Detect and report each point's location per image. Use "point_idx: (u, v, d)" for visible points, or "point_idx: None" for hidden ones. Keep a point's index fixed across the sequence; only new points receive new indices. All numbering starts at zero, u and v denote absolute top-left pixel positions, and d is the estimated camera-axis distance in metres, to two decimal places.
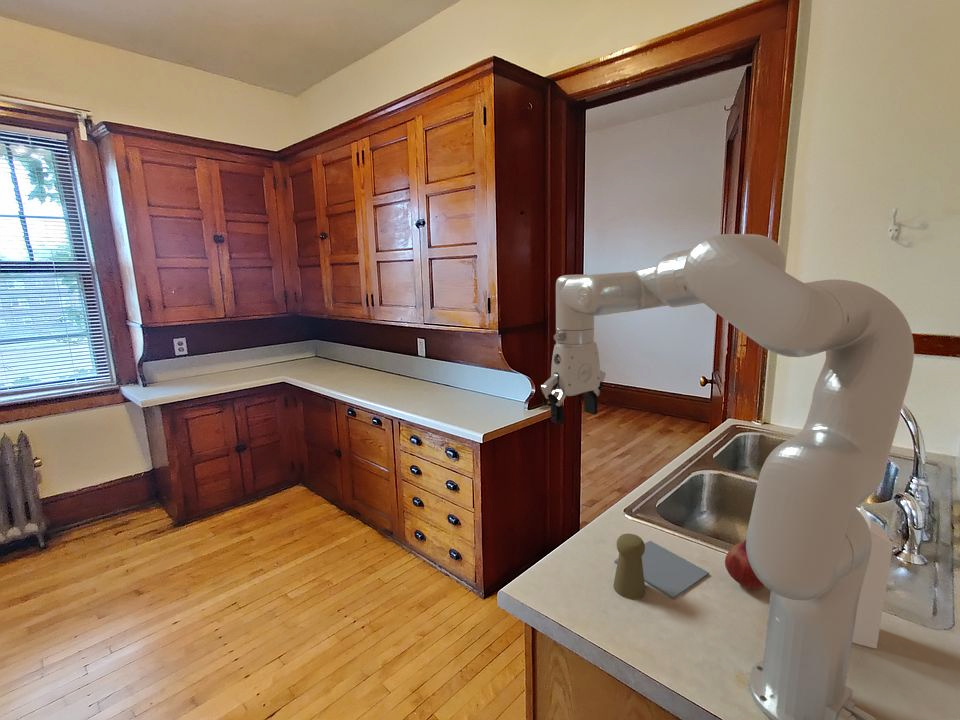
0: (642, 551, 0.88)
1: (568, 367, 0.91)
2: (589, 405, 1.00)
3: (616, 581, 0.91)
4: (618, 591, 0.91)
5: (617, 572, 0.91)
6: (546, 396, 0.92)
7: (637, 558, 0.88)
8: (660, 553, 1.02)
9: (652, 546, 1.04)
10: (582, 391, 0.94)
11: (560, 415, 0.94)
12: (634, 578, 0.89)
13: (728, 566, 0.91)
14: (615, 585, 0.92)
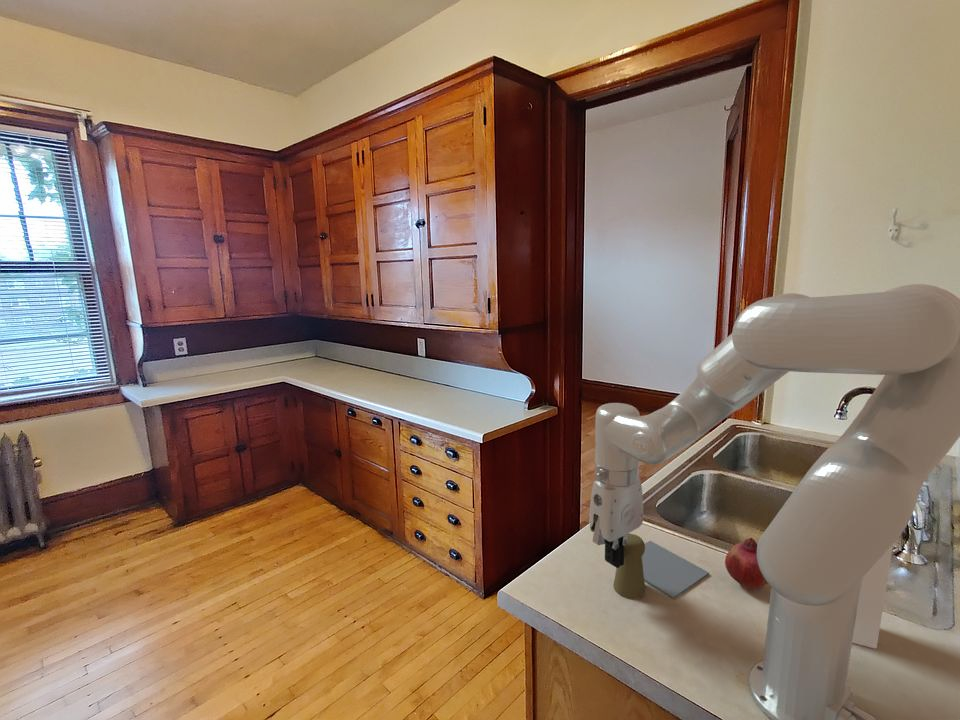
0: (642, 551, 0.88)
1: (610, 511, 0.81)
2: None
3: (616, 581, 0.91)
4: (618, 591, 0.91)
5: (617, 572, 0.91)
6: None
7: (637, 558, 0.88)
8: (660, 553, 1.02)
9: (652, 546, 1.04)
10: (625, 534, 0.84)
11: (616, 558, 0.86)
12: (634, 578, 0.89)
13: (728, 566, 0.91)
14: (615, 585, 0.92)
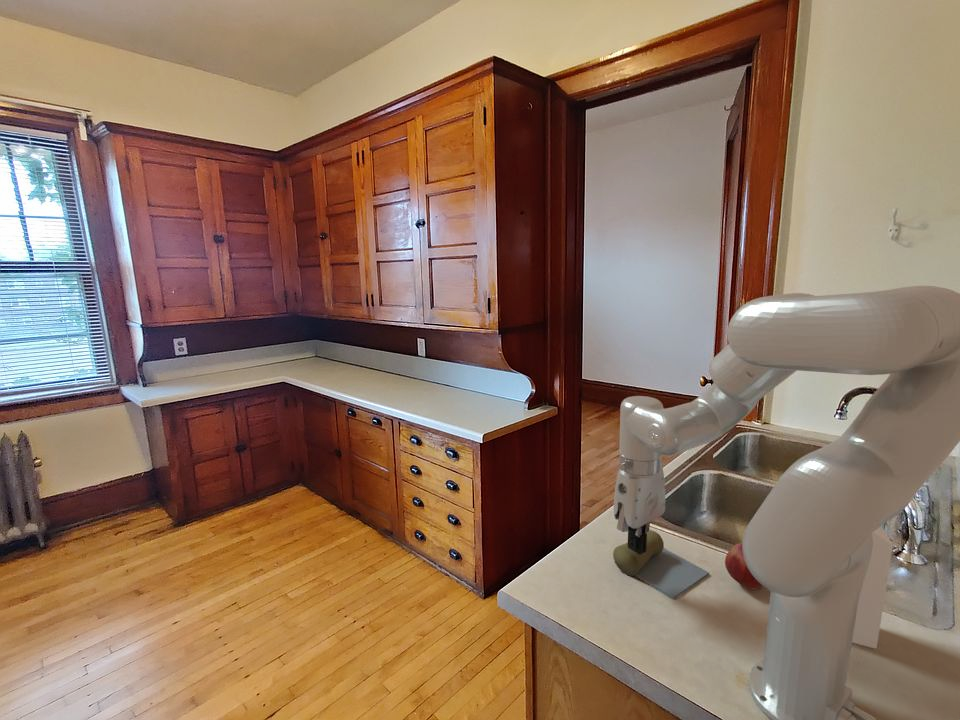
0: (656, 535, 1.00)
1: (635, 499, 0.85)
2: None
3: None
4: None
5: None
6: None
7: (649, 536, 1.00)
8: (660, 553, 1.02)
9: None
10: (648, 521, 0.87)
11: (639, 545, 0.90)
12: None
13: (728, 566, 0.91)
14: None
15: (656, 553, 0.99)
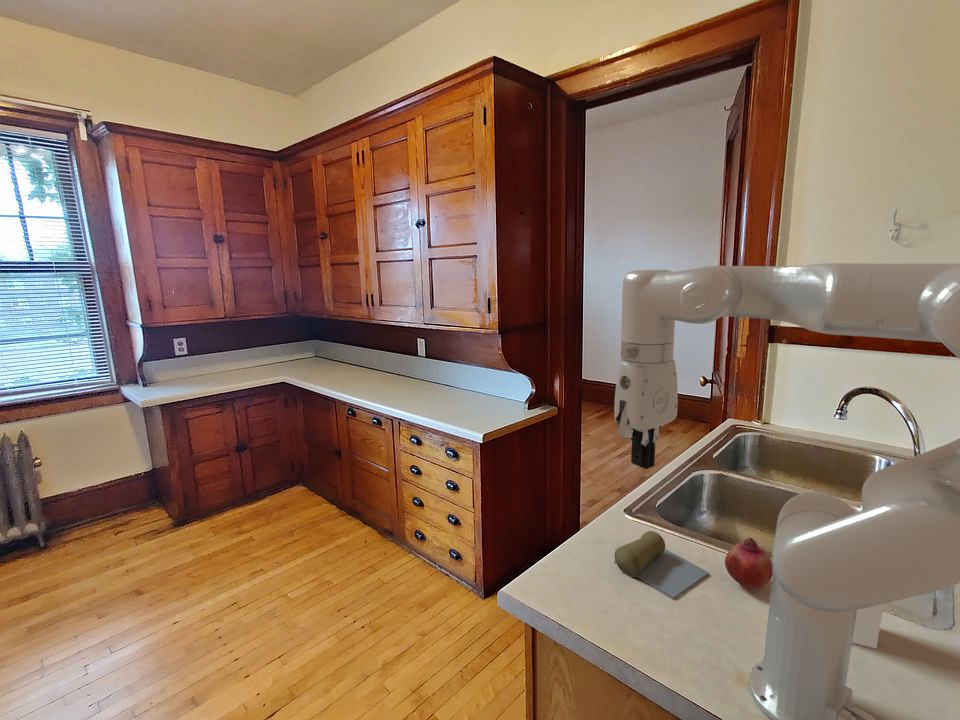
0: (659, 537, 0.99)
1: (641, 393, 0.68)
2: None
3: None
4: None
5: None
6: None
7: (651, 538, 0.99)
8: None
9: None
10: (657, 425, 0.71)
11: (646, 457, 0.73)
12: (638, 543, 0.97)
13: (728, 566, 0.91)
14: None
15: (657, 555, 0.99)
